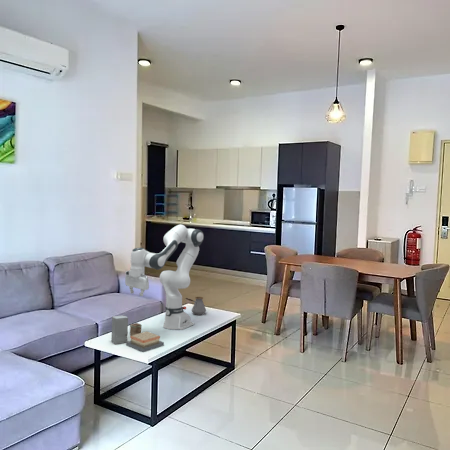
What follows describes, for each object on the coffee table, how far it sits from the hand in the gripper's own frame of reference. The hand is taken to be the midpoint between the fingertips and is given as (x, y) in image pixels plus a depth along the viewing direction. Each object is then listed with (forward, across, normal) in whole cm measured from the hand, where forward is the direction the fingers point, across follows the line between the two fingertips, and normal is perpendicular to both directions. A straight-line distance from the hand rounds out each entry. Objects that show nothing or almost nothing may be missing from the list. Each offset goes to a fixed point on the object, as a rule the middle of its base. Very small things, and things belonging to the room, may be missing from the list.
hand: (136, 294), depth 266 cm
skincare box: (+28, -1, +13) cm, 31 cm away
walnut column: (+27, 0, 0) cm, 27 cm away
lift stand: (+28, -17, +6) cm, 33 cm away
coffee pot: (+27, +10, -64) cm, 70 cm away
